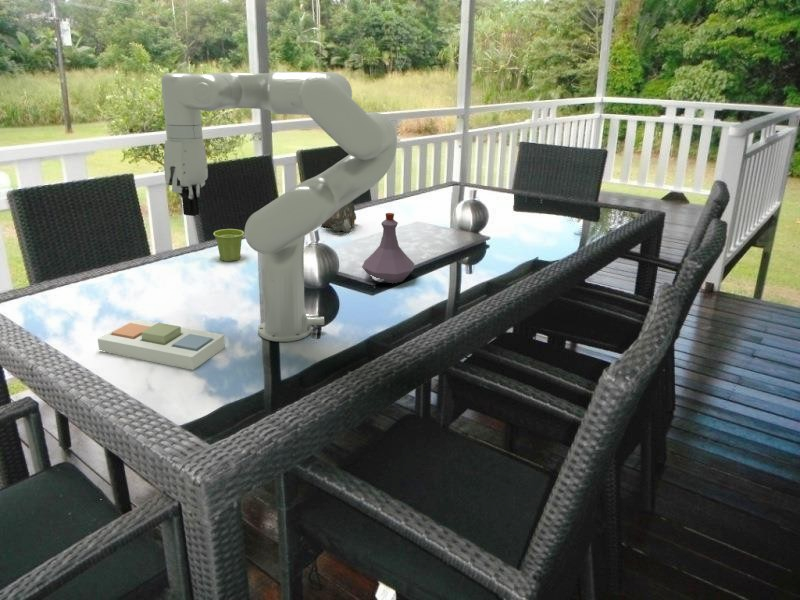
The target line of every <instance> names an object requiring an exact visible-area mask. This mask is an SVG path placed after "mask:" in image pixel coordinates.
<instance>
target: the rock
mask: <svg viewBox="0 0 800 600" xmlns="http://www.w3.org/2000/svg"><path fill="white" fill-rule="evenodd" d="M355 209H356V207H355V205H354V202H353V201H351V202H350V203H348V204H346V205H345V206H343V207H342V208H340V209H339V210H338V211H337V212H335V213H334V215H333V216H331V217H330V218H329V219H328V220H327V221H326V222H325V223H323V224H322V225H321V226H322V227H325V228H331V229H333V231H336V232H338V231H339V232H341V231H342V232H344V233H347V232H349V230H351V229H352V228H353V227H354V226H355V223H356V222H355V221H357V214H356V212H355Z"/></svg>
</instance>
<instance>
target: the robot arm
mask: <svg viewBox="0 0 800 600" xmlns="http://www.w3.org/2000/svg"><path fill="white" fill-rule="evenodd" d="M160 84H161V92H162V93H161V94H162V102H163V103H162V105H163V114H164V122H165V133H166V139H165V143H164V149H163V150H164V152H163V153H164V154H163V162H164V163H163V165H164V166H163V167H164V169H163V170H164V179H165V184H166V185H167V186H171V192H172V193H175V194H179V197H180V198H181V200H182V213H183V215H184V216H189V217H190V216H191V217H196V216H199V215H200V205H199V203H200V201H199V198H200V195H201V193H200V191H201V188H203V187H204V186H205V185H206V180H208V177H209V170H208V160H207V152H206V148H205V147H206V146H205V143H204V138H203V127H202V111H204V112H217V111H222V110H226V109H228V110H230V109H253V110H254V109H258V110H268V111H270V112H271V113H272V114H276V115H290V116H291V115H293V116H294V115H295V116H297V115H300V116H302V115H303V116H305V115H306V116H309V117H310V118H311V120H313V121H314V123H315V124H317V125H318V127H319V128H320V129H321V130H322V131H323V132H325V134H326V135H328V136H329V138H331V139H332V140H333V142H335V143H336V144H337V145H338V146H339V147H340V148H341V149H342V150H343V151H344V152H346V153H347V154H348V155H347V156H345V157H344V158H342V159H341V160H339V161H337V162H336V163H335V164H333V165H332V166H330V167H328V168H327V169H326V170H324V171H323V172H321V173H319V174H317V175H315V176H313V177H311V178H308V179H306V180H304V181H302V182H299V184H297V185H295V186H294V187H292V188H290V189H289V190H287V191H286V192H284V193H283V194H281V195H280V196H278V197H276V198H275V199H274V200H272V201H269V203H268V204H266V205H264V206H263V207H261V208H260V209H258V210H257V211H255V212H254V213H252V214H251V215H250V216H249V217H248V219H247V220H246V223H245V226H244V238H245V240H246V243H247V244H248V246H249V247H250V248H251V249H252V250H253V251H255V252H257V253H260V254H261V278H262V298H263V299H262V300H263V302H262V303H263V322H262V323H260V324H259V325H258V328H257V331H258V336H259V337H261V338H262V339H265V340H267V341H270V342H271V341H272V342H277V343H278V342H280V343H281V342H282V343H283V342H293V341H298V340H302V339H303V338H307V336H309V335H310V334H311V332H312V326H314V325H315V326H316V325H317V326H321V325H325V316H319V314H318V313H313V314H309V313H307V311H306V308H305V280H304V279H305V274H304V273H305V271H304V270H305V268H304V267H305V265H304V262H305V260H304V259H305V258H304V254H305V251H304V249H305V240H306V238H305V237H306V236H307V235H309V234H310V233H312V232H313V231H315V230H317V229H318V228H319V227H321V226H322V224H323V223H325V222H326V221H327V220H328V219H329V218H330V217H331V216H333V215H334V213H335V212H337V211H338V210H339V209H340V208H342V207H343V206H345V205H346V204H348V203H350V202H351V201H352V202H353V201H355V199H357V198H359V197H360V196H361V195H363V194H364V193H366V192H368V191H369V190H370V189H372V188H373V187H375V185H377V183H379V182H380V181H381V180H382V179H383V178H384V177H385V176H386V174H387V173H388V172H389V170H390V168H391V166H392V165H393V163H394V159H395V157H396V154H397V153H396V152H397V144H398V143H397V142H398V141H397V133H396V128H395V126H394V123H393V122H392V120H391V119H390V118H389V117H388V116H386V115H384V114H383V113H379V112H366V111H365V109H363V108H362V107H361V106H360V105H359V104H358V103H357V102H356V101H355V100H354V99H353V98H352V97H353V90H352V86H351V84H350V82H349V80H348V79H347V78H346V77H345V76H343V75H342V74H339V73H337V72H330V71H329V72H328V71H324V72H323V71H321V72H320V71H270V72H266V73H254V72H253V73H250V72H249V73H245V72H243V73H241V72H240V73H239V72H214V73H200V74H193V73H188V72H187V73H186V72H184V73H183V72H168V73H164V74H163V75H162V76H161V83H160Z"/></svg>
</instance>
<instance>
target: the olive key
mask: <svg viewBox="0 0 800 600" xmlns="http://www.w3.org/2000/svg"><path fill="white" fill-rule="evenodd" d="M156 323H157V324H155V325H153V326H152V327H150V328H148V329H146V330H144V331H143V332H141V335H142V341H146V342H151V343H156V344H161V345H166V344H168V343H169V342H171V341H172V340H174V339H176V338H177V337H179V336H181V327H182V326H179V325H175V324H169V323H163V322H156Z"/></svg>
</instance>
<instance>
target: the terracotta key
mask: <svg viewBox="0 0 800 600" xmlns="http://www.w3.org/2000/svg"><path fill="white" fill-rule="evenodd" d="M128 323H129V322H128ZM126 324H127V323H126ZM124 325H125V324H124ZM122 326H123V325H122ZM120 327H121V326H120ZM118 328H119V327H118ZM148 328H150V327H149V326H144V325H139V324H133V323H129V324H127V325H125V326H123V327H121V328H119V329H117V328H116V329H117V330H115V329H114V330H115V331H114V332H112V335H114V336H120V337H125V338H130V339H135V338H137V337H139V336H141V332H143V331H144V330H146V329H148Z"/></svg>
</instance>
